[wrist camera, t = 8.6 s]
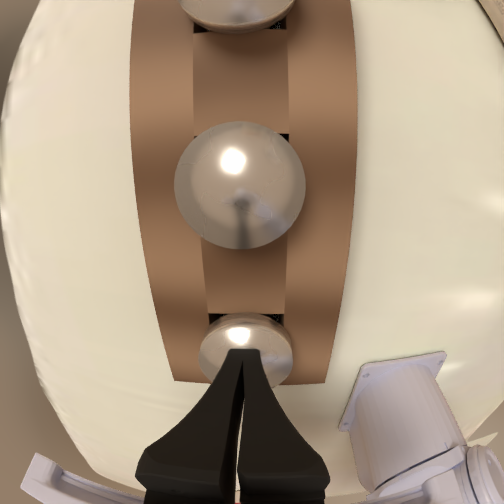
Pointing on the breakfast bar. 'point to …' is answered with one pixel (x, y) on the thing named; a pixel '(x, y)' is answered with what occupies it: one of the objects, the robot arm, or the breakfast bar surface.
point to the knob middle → (239, 185)
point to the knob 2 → (247, 344)
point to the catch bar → (271, 116)
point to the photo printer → (495, 13)
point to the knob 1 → (236, 14)
